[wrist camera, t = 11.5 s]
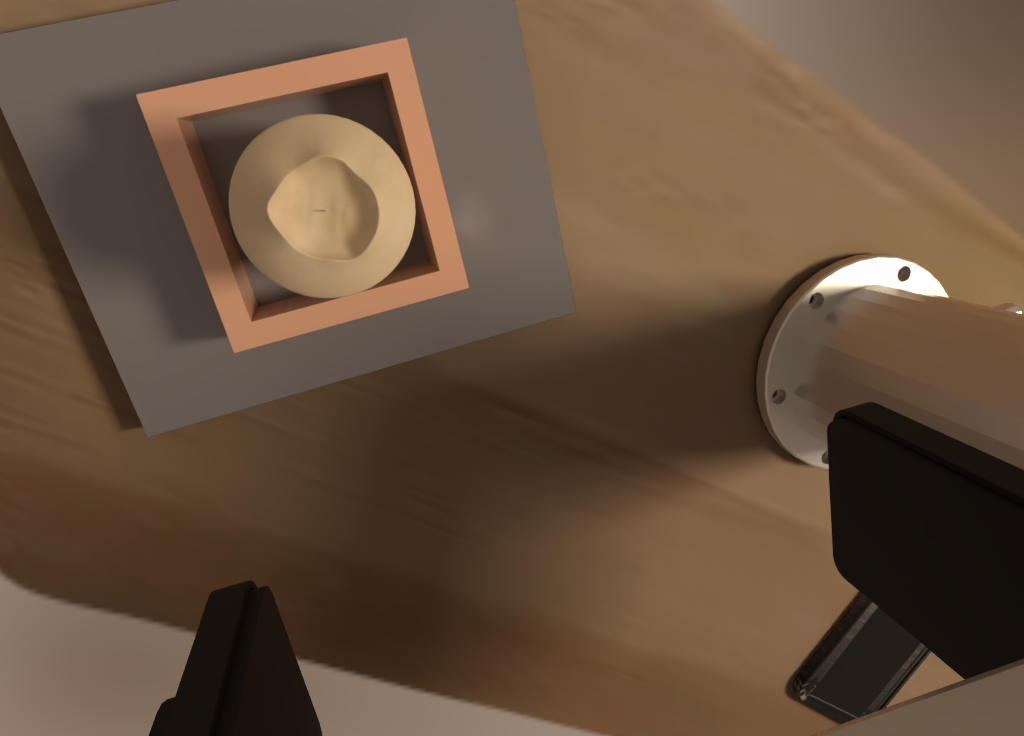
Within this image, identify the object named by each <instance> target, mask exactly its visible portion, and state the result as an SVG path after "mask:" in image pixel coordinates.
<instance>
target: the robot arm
mask: <svg viewBox="0 0 1024 736" xmlns="http://www.w3.org/2000/svg"><path fill="white" fill-rule="evenodd" d="M756 386H757V401H758V405H759V408H760V412H761V416H762V419H763V421H764V423H765V425H766V427H767V429H768V431H769V433H770V435H771V436H772V437H773V438H774V439H775V440H776V442H777V443H778V444H779V445H780V446H781V447H782V448H783V449H785V450H786V451H787V452H789V453H790V454H792V455H793V456H794V457H796V458H798V459H800V460H801V461H803V462H805V463H807V464H809V465H811V466H814V467H817V468H821V469H825V470H829V484H830V504H831V523H832V543H833V557H834V562H835V565H836V567H837V569H838V571H839V572H840V574H841V575H842V576H843V577H844V578H845V579H846V580H847V581H848V582H849V583H851V584H852V585H853V586H854V587H855V588H857V589H858V590H859V591H860V592H861V593H862V594H864V595H865V596H866V597H867V598H868V599H870V600H871V601H872V602H873V603H874V604H876V605H877V606H878V607H879V608H880V609H882V610H883V611H884V612H885V613H886V614H887V615H889V616H890V617H891V618H892V619H893V620H895V621H896V622H897V623H898V624H899V625H901V626H902V627H903V628H904V629H905V630H907V631H908V632H909V633H910V634H911V635H912V636H914V637H915V638H916V639H917V640H918V641H920V642H921V643H922V644H923V645H924V646H926V647H927V648H928V649H929V650H930V651H932V652H933V653H934V654H935V655H936V656H937V657H939V658H940V659H941V660H942V661H943V662H945V663H946V664H947V665H948V666H949V667H951V668H952V669H953V670H954V671H955V672H957V673H958V674H959V675H960V676H961V677H962V678H964V679H965V680H963V681H960V682H957V683H954V684H951V685H949V686H946V687H943V688H940V689H937V690H935V691H932V692H929V693H926V694H923V695H921V696H918V697H915V698H912V699H909V700H907V701H904V702H901V703H898V704H895V705H893V706H890V707H887V708H884V709H881V710H879V711H876V712H873V713H870V714H868V715H865V716H862V717H859V718H857V719H854V720H851V721H848V722H846V723H843V724H840V725H837V726H835V727H832V728H829V729H826V730H824V731H821V732H818V733H815V734H813V735H810V736H1024V314H1022V312H1021V310H1020V309H1019V307H1018V306H1017V305H1015V304H1013V303H1005V304H1002V305H999V306H996V307H988V306H984V305H979V304H975V303H970V302H966V301H961V300H957V299H952V298H949V296H948V294H947V293H946V291H945V290H944V288H943V286H942V285H941V283H940V281H939V280H938V279H937V278H935V277H934V276H933V275H932V274H931V273H930V272H929V271H928V270H927V269H926V268H924V267H922V266H920V265H919V264H917V263H915V262H914V261H911V260H907V259H904V258H900V257H897V256H890V255H883V254H864V255H856V256H852V257H849V258H846V259H842V260H839V261H837V262H835V263H833V264H831V265H829V266H827V267H825V268H823V269H821V270H820V271H818V272H817V273H816V274H814V275H813V276H812V277H810V278H809V279H808V280H807V281H805V282H804V283H803V284H802V285H801V286H800V287H799V288H798V289H797V290H796V291H795V292H794V293H793V294H792V295H791V296H790V297H789V298H788V300H787V301H786V302H785V304H784V305H783V307H782V308H781V310H780V311H779V313H778V314H777V316H776V317H775V318H774V320H773V323H772V325H771V327H770V329H769V331H768V333H767V335H766V337H765V340H764V343H763V347H762V350H761V354H760V357H759V361H758V369H757V378H756ZM149 736H322V731H321V727H320V723H319V721H318V718H317V715H316V712H315V709H314V707H313V704H312V701H311V698H310V696H309V693H308V690H307V687H306V685H305V682H304V679H303V676H302V674H301V671H300V668H299V665H298V663H297V660H296V657H295V654H294V652H293V649H292V646H291V643H290V641H289V638H288V635H287V632H286V630H285V627H284V624H283V621H282V619H281V616H280V613H279V610H278V608H277V605H276V602H275V599H274V597H273V594H272V592H271V590H270V588H269V587H268V586H264V587H260V588H257V586H256V585H255V583H254V582H253V581H251V580H250V581H246V582H243V583H239V584H236V585H232V586H229V587H225V588H222V589H218V590H215V591H212V592H211V594H210V595H209V598H208V601H207V604H206V607H205V610H204V613H203V616H202V619H201V622H200V625H199V628H198V631H197V634H196V637H195V640H194V643H193V646H192V649H191V652H190V655H189V658H188V661H187V664H186V667H185V670H184V673H183V675H182V678H181V681H180V684H179V687H178V691H177V693H176V696H175V697H174V698H170V699H167V700H166V701H165V702H163V703H162V704H161V706H160V708H159V710H158V712H157V714H156V717H155V720H154V723H153V725H152V728H151V731H150V734H149Z"/></svg>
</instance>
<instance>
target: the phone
mask: <svg viewBox="0 0 1024 736" xmlns="http://www.w3.org/2000/svg"><path fill="white" fill-rule="evenodd" d="M930 652H931V651H930V650H929V649H928V648H927V647H926V646H924V645H923V644H922V643H921V642H920V641H918V640H917V639H916V638H915V637H914V636H912V635H911V634H910V633H909V632H908V631H907V630H905V629H904V628H903V627H902V626H901V625H899V624H898V623H897V622H896V621H895V620H893V619H892V618H891V617H890V616H889V615H887V614H886V613H885V612H884V611H883V610H882V609H880V608H879V607H878V606H877V605H876V604H874V603H873V602H872V601H871V600H870V599H868V598H867V597H866V596H865V595H864V594H862V595H861V596H860V597H859V599H858V600H857V601H856V602H855V604H854V605H853V606H852V607H851V609H850V610H849V611H848V612H847V614H846V615H845V616H844V617H843V619H842V620H841V621H840V622H839V624H838V625H837V626H836V627H835V629H834V630H833V631H832V632H831V634H830V635H829V636H828V637H827V639H826V640H825V641H824V642H823V644H822V645H821V646H820V647H819V649H818V650H817V651H816V652H815V654H814V655H813V656H812V657H811V659H810V660H809V661H808V663H807V664H806V665H805V666H804V668H803V669H802V670H801V671H800V673H799V674H798V675H797V677H796V678H795V680H794V683H793V689H794V692H795V693H796V694H797V695H798V696H799V698H800V699H801V700H802V701H803V702H804V703H806V704H808V705H810V706H812V707H813V708H815V709H817V710H819V711H821V712H823V713H824V714H826V715H828V716H830V717H832V718H834V719H836V720H837V721H839V722H841V723H846V722H848V721H851V720H854V719H857V718H859V717H862V716H865V715H868V714H870V713H873V712H876V711H879V710H881V709H884V708H886V706H887V705H888V704H889V703H890V701H891V700H892V699H893V698H894V697H895V695H896V694H897V693H898V692H899V690H900V689H901V688H902V687H903V686H904V684H905V683H906V682H907V681H908V679H909V678H910V677H911V676H912V674H913V673H914V672H915V671H916V670H917V668H918V667H919V666H920V665H921V663H922V662H923V661H924V660H925V659H926V657H927V656H928V655H929V654H930Z"/></svg>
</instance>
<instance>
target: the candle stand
mask: <svg viewBox="0 0 1024 736" xmlns="http://www.w3.org/2000/svg"><path fill="white" fill-rule="evenodd" d="M0 107H1V110H2V112H3V114H4V116H5V119H6V121H7V123H8V125H9V128H10V130H11V132H12V134H13V137H14V139H15V141H16V143H17V146H18V148H19V150H20V152H21V155H22V157H23V159H24V161H25V164H26V166H27V168H28V170H29V173H30V175H31V177H32V179H33V181H34V184H35V186H36V188H37V190H38V193H39V195H40V197H41V199H42V202H43V204H44V206H45V208H46V211H47V213H48V215H49V217H50V220H51V222H52V224H53V226H54V229H55V231H56V233H57V235H58V238H59V240H60V242H61V244H62V247H63V249H64V251H65V253H66V256H67V258H68V260H69V262H70V264H71V267H72V269H73V271H74V273H75V276H76V278H77V280H78V282H79V285H80V287H81V289H82V291H83V294H84V296H85V298H86V300H87V303H88V305H89V307H90V309H91V312H92V314H93V316H94V318H95V321H96V323H97V325H98V327H99V330H100V332H101V334H102V336H103V338H104V341H105V343H106V345H107V347H108V350H109V352H110V354H111V356H112V359H113V361H114V363H115V365H116V368H117V370H118V372H119V374H120V377H121V379H122V381H123V383H124V386H125V388H126V390H127V392H128V395H129V397H130V399H131V401H132V404H133V406H134V408H135V410H136V413H137V415H138V417H139V419H140V421H141V424H142V426H143V428H144V430H145V433H146V435H147V437H150V436H154V435H157V434H160V433H164V432H167V431H171V430H174V429H178V428H181V427H184V426H188V425H191V424H195V423H198V422H202V421H205V420H208V419H212V418H215V417H219V416H222V415H226V414H229V413H232V412H236V411H239V410H243V409H246V408H249V407H253V406H256V405H260V404H263V403H267V402H270V401H273V400H277V399H280V398H284V397H287V396H291V395H294V394H297V393H301V392H304V391H308V390H311V389H315V388H318V387H321V386H325V385H328V384H332V383H335V382H339V381H342V380H345V379H349V378H352V377H356V376H359V375H363V374H366V373H369V372H373V371H376V370H380V369H383V368H386V367H390V366H393V365H397V364H400V363H404V362H407V361H410V360H414V359H417V358H421V357H424V356H428V355H431V354H434V353H438V352H441V351H445V350H448V349H452V348H455V347H458V346H462V345H465V344H469V343H472V342H476V341H479V340H482V339H486V338H489V337H493V336H496V335H499V334H503V333H506V332H510V331H513V330H517V329H520V328H523V327H527V326H530V325H534V324H537V323H541V322H544V321H547V320H551V319H554V318H558V317H561V316H565V315H568V314H571V313H575V312H576V308H575V303H574V298H573V293H572V288H571V283H570V278H569V273H568V268H567V262H566V257H565V252H564V247H563V242H562V237H561V232H560V227H559V222H558V217H557V212H556V207H555V202H554V197H553V192H552V187H551V182H550V176H549V171H548V166H547V161H546V156H545V151H544V146H543V141H542V136H541V131H540V126H539V121H538V116H537V111H536V106H535V101H534V95H533V90H532V85H531V80H530V75H529V70H528V65H527V60H526V55H525V50H524V45H523V40H522V35H521V30H520V25H519V20H518V15H517V9H516V4H515V0H176V1H171V2H165V3H160V4H155V5H150V6H144V7H139V8H134V9H129V10H124V11H118V12H113V13H108V14H103V15H97V16H92V17H87V18H82V19H76V20H71V21H66V22H61V23H56V24H50V25H45V26H40V27H35V28H29V29H24V30H19V31H14V32H8V33H3V34H0ZM304 114H329V115H336V116H340V117H343V118H347V119H350V120H352V121H354V122H357V123H359V124H361V125H363V126H365V127H366V128H368V129H370V130H371V131H373V132H374V133H375V134H377V135H378V136H379V137H381V138H382V139H383V140H384V141H385V142H386V143H387V144H388V145H389V146H390V147H391V148H392V150H393V151H394V152H395V153H396V155H397V156H398V157H399V159H400V161H401V162H402V164H403V165H404V167H405V169H406V172H407V174H408V176H409V178H410V182H411V185H412V188H413V192H414V198H415V210H416V215H415V226H414V230H413V235H412V238H411V241H410V244H409V247H408V248H407V250H406V252H405V254H404V256H403V258H402V259H401V261H400V262H399V264H398V265H397V266H396V267H395V269H394V270H393V271H392V272H391V273H390V274H389V275H388V276H387V277H385V278H384V279H383V280H382V281H381V282H379V283H377V284H376V285H374V286H373V287H371V288H369V289H367V290H365V291H363V292H360V293H357V294H354V295H351V296H346V297H341V298H314V297H309V296H304V295H301V294H298V293H295V292H292V291H290V290H287V289H285V288H283V287H281V286H279V285H278V284H276V283H275V282H273V281H271V280H270V279H269V278H267V277H266V276H265V275H264V274H262V273H261V272H260V271H259V270H258V269H257V268H256V267H255V266H254V265H253V264H252V262H251V261H250V260H249V258H248V257H247V256H246V254H245V253H244V251H243V250H242V248H241V246H240V244H239V243H238V240H237V238H236V235H235V233H234V231H233V227H232V223H231V219H230V213H229V188H230V182H231V178H232V175H233V171H234V168H235V166H236V164H237V162H238V160H239V158H240V156H241V155H242V153H243V152H244V150H245V148H246V147H247V146H248V145H249V144H250V143H251V141H252V140H253V139H254V138H255V137H256V136H258V135H259V134H260V133H261V132H262V131H263V130H265V129H267V128H268V127H270V126H271V125H273V124H275V123H277V122H279V121H282V120H284V119H286V118H290V117H294V116H297V115H304Z"/></svg>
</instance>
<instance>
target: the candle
mask: <svg viewBox="0 0 1024 736" xmlns="http://www.w3.org/2000/svg"><path fill="white" fill-rule="evenodd" d="M229 213H230V219H231V223H232V227H233V231H234V233H235V235H236V238H237V240H238V243H239V244H240V246H241V248H242V250H243V251H244V253H245V254H246V256H247V257H248V258H249V260H250V261H251V262H252V264H253V265H254V266H255V267H256V268H257V269H258V270H259V271H260V272H261V273H262V274H264V275H265V276H266V277H267V278H269V279H270V280H271V281H273V282H275V283H276V284H278V285H279V286H281V287H283V288H285V289H287V290H290V291H292V292H295V293H298V294H301V295H304V296H309V297H314V298H341V297H346V296H351V295H354V294H357V293H360V292H363V291H365V290H367V289H369V288H371V287H373V286H374V285H376V284H377V283H379V282H381V281H382V280H383V279H384V278H385V277H387V276H388V275H389V274H390V273H391V272H392V271H393V270H394V269H395V267H396V266H397V265H398V264H399V262H400V261H401V259H402V258H403V256H404V254H405V252H406V250H407V248H408V247H409V244H410V241H411V238H412V235H413V230H414V226H415V215H416V210H415V198H414V192H413V188H412V185H411V182H410V178H409V176H408V174H407V172H406V169H405V167H404V165H403V164H402V162H401V161H400V159H399V157H398V156H397V155H396V153H395V152H394V151H393V150H392V148H391V147H390V146H389V145H388V144H387V143H386V142H385V141H384V140H383V139H382V138H381V137H379V136H378V135H377V134H375V133H374V132H373V131H371V130H370V129H368V128H366V127H365V126H363V125H361V124H359V123H357V122H354V121H352V120H350V119H347V118H343V117H340V116H336V115H329V114H304V115H297V116H294V117H290V118H286V119H284V120H282V121H279V122H277V123H275V124H273V125H271V126H270V127H268V128H267V129H265V130H263V131H262V132H261V133H260V134H259V135H258V136H256V137H255V138H254V139H253V140H252V141H251V143H250V144H249V145H248V146H247V147H246V148H245V150H244V152H243V153H242V155H241V156H240V158H239V160H238V162H237V164H236V166H235V168H234V171H233V175H232V178H231V182H230V188H229Z"/></svg>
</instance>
